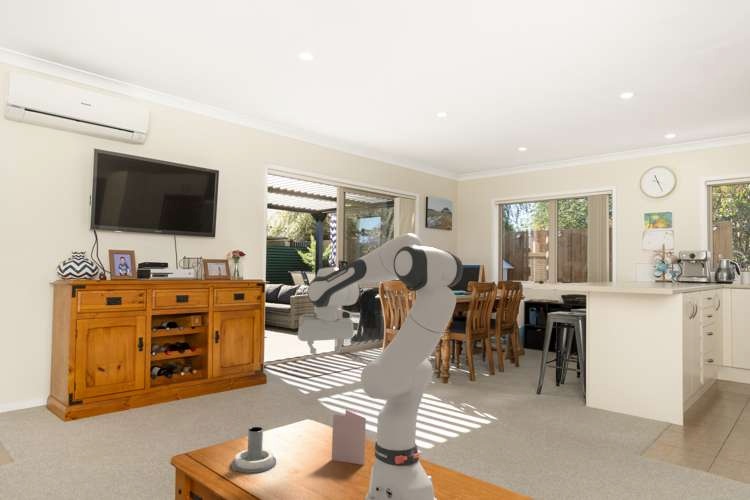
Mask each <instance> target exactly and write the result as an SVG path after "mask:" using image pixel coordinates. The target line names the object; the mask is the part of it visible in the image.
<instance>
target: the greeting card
mask: <svg viewBox="0 0 750 500" xmlns="http://www.w3.org/2000/svg"><path fill="white" fill-rule="evenodd" d="M366 419H367V418H366V417H364V416H361V415H359V414H357V413H354V412H352V411H350V410H348V409H345V415H341V414H334V413H333V416H332V438H331V439H332V441H331V443H332V444H331V460H332V461H338V462H343V463H350V464H357V465H362V466H363V465H364V466H365V454H366V451H365V450H366V445H365V444H366V422H367V420H366Z"/></svg>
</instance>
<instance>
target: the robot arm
mask: <svg viewBox="0 0 750 500" xmlns="http://www.w3.org/2000/svg"><path fill="white" fill-rule="evenodd" d="M463 273H464V265H463V261H461V259H460V258H459V257H458V256H457V255H456V254H454V253H452V252H451V251H446V250H441V249H437V248H435V247H430V246H425V245H424V243H423V241H422V240H421V238H420V237H419V236H417V235H416V234H413V233H411V232H410V233H404V234H400V235H397V236H396V237H393V238H391V239H390V240H388V241H387V242H385V243H383V244H381V246H379V247H377V248H376V249H373V250H372V251H370V252H369V253H367V254H365V255H363V256H360V257H359V258H358V259H354V260H353V261H350V262H349V263H347V264H345V265H344V266H341V267H340V268H339V267H336V266H328V267H327V266H325V267H322V268H319V269H318V270H317V273H316V276H315V277H314V278H313V279H312V280H311V282H310V283H309V284H308V287H307V297H308V299H309V301H310V302H311V304H313V306H314V309H313V310H314V313H312V312H311V313H303V314H301V315H300V316H299V318H298V331H297V339H298V340H299V341H301V342H306V343H307V345H308V347H309V348H310V350H309V353H310V354H311V355H313V354H314V355H315V354H317V348H315V347H314V342H315V341H331V340H332V341H333V340H337V342H338V344H337V346H334V352H335V353H341V350H342V349H341V348H342V346H343V344H345V343H344V342H345V340H350V339H352V338H354V333H355V332H354V331H355V330H354V321H353V319H352V318H353V313H352V312H351V311H348V310H345V309H343V308H341V306H342V307H343V306H352V305H356V303H357V302H358V300H359V299H360V296H361V288H360V285H359V284H369V283H372V284H373V283H375V284H376V283H377V284H378V283H386V282H390V281H394V280H396V279H398V280H399V281H400V282H401V283H403V284H404V286H405V287H406V290H408V291H409V292H415V293H416V297H415V299H414V302H413V304H412V306H411V308H410V309H409V311H408V313H407V316H406V318H405V319H404V321H403V323H402V325H401V327H400V329H399V330H398V332H397V334H396V335H395V336H394V337H393V339H392V340H391V341H390V342H389V343H388V345H387V346H386V347H385V348H384V349H383V350H382V351H381V352H380V353H379V354H378V356H377V357H375V358H374V359H373V360H372V361H371V362H369V363H367V364H366V365H365V366H364V367H363V369H362V370H361V374H360V385H361V388H362V390H363V392H364V393H365V394H366V396H367V397H369V398H371V399H379V400H386V401H385V403H384V405H383V407H382V408H381V410H380V411H379V413H378V415H377V424H376V425H377V429H376V430H377V431H376V442H375V444H374V445H375V446H374V457H375V460H374V463H373V465H372V467H371V471H370V478H369V487H368V492H367V493H366V495H365V499H364V500H438V498H436V497H435V490H434V485H433V479H432V476H431V475H428V474H427V472H426V471H425V469H424V467H423V466H422V464H421V462H420V457H421V452H419V450H418V445H417V442H416V435H417V434H416V433H417V431H416V430H417V421H418V420H417V418H418V412H419V408H420V406H421V402H422V398H423V395H424V393H425V391H426V390H427V387H428V386H429V384H430V383H431V381H432V380H433V376H434V368H433V366H432V363H431V361H430V360H429V359H428V358H429V357H430V356H431V355H432V354H433V353H434V352H435V349H436V348H437V346H438V344H439V343H440V340H441V339H442V337H443V335H444V334H445V331H446V330H447V328H448V326H449V324H450V321H451V319H452V317H453V314H454V310H455V308H456V305H457V296H456V294H455V293H454V291H453V290H452V289H451V287H454V286H456V285H457V284H458V283H459V282H460V281H461V280H462V277H463Z"/></svg>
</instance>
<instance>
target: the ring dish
mask: <svg viewBox="0 0 750 500" xmlns="http://www.w3.org/2000/svg"><path fill="white" fill-rule="evenodd" d="M247 455H248V449H245V450H241V451H239V452H238V453H236V455H235V458H234V459H233V460H232V461H231V469H232V470H233V471H236V472H238V473H241V474H258V473H263V472H268V471H270V470H272V469H273V468H275V467H276V465H277V459H276V457H275V456H274V453H273V452H272V451H271V450H269V449H264V448H262V460H258V461H247Z"/></svg>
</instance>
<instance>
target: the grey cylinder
mask: <svg viewBox="0 0 750 500" xmlns="http://www.w3.org/2000/svg"><path fill="white" fill-rule="evenodd" d="M263 432H264V429H263V427H261V426H254V427H253V426H252V427H250V428H248V433H247V434H248V435H247V450H248V455H247V461H258V460H262V449H263V441H264V439H263V436H264V433H263Z"/></svg>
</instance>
